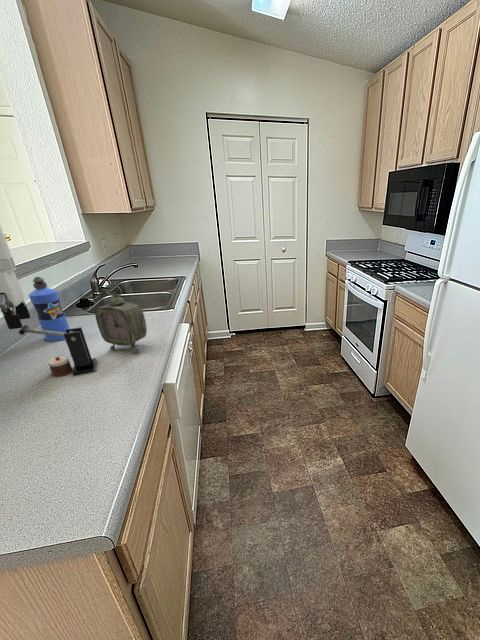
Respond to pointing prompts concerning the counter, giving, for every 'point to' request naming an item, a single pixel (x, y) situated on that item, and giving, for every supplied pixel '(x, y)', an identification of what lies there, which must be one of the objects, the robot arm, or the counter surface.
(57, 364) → the cake
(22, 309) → the robot arm
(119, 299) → the tabletop clock
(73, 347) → the black upright frame
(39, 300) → the blue bottle
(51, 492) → the counter surface
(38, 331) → the lever
